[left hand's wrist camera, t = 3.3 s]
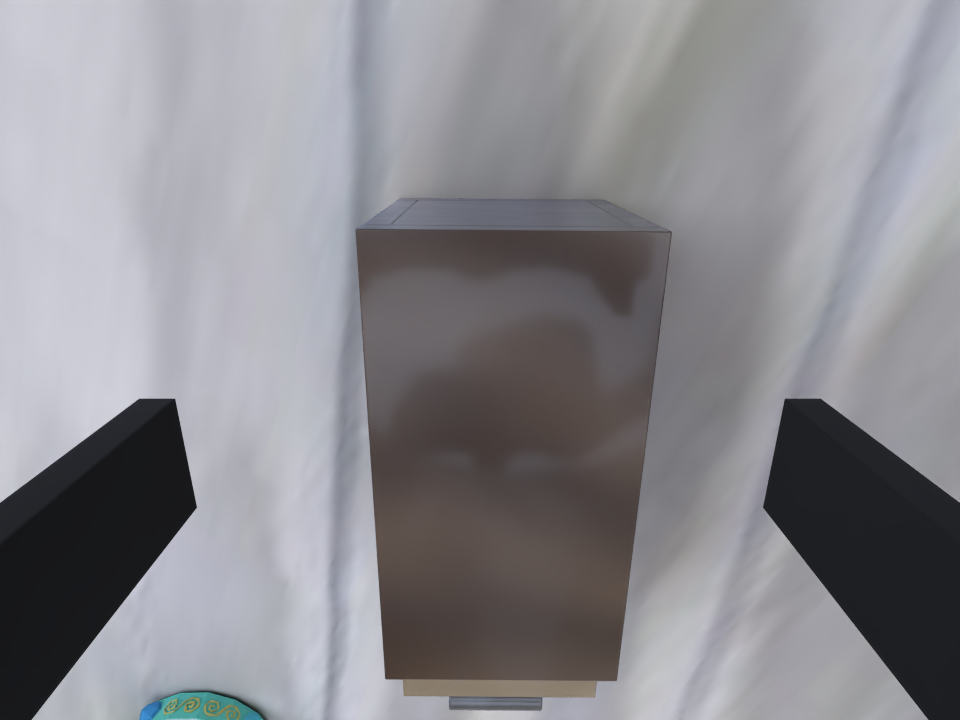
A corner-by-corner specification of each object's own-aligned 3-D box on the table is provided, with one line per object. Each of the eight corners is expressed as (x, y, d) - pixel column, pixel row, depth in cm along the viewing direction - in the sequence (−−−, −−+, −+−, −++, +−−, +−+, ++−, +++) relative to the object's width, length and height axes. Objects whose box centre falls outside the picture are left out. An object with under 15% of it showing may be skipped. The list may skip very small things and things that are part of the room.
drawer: (563, 643, 37) (586, 784, 29) (424, 642, 37) (408, 783, 29) (591, 273, 29) (634, 325, 21) (411, 272, 29) (383, 323, 21)
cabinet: (578, 528, 36) (617, 681, 25) (412, 527, 36) (385, 680, 25) (605, 199, 29) (672, 231, 19) (399, 198, 29) (355, 228, 19)
